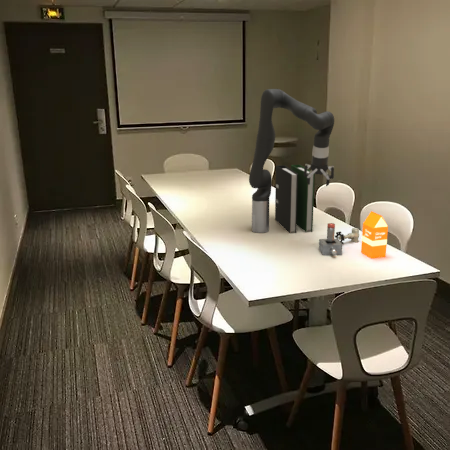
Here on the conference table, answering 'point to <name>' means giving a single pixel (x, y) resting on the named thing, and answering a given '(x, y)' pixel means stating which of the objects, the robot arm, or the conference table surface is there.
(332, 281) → the conference table surface
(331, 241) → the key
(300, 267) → the conference table surface
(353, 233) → the valve
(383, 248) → the orange juice
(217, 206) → the conference table surface
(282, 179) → the binder
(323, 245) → the grey box
